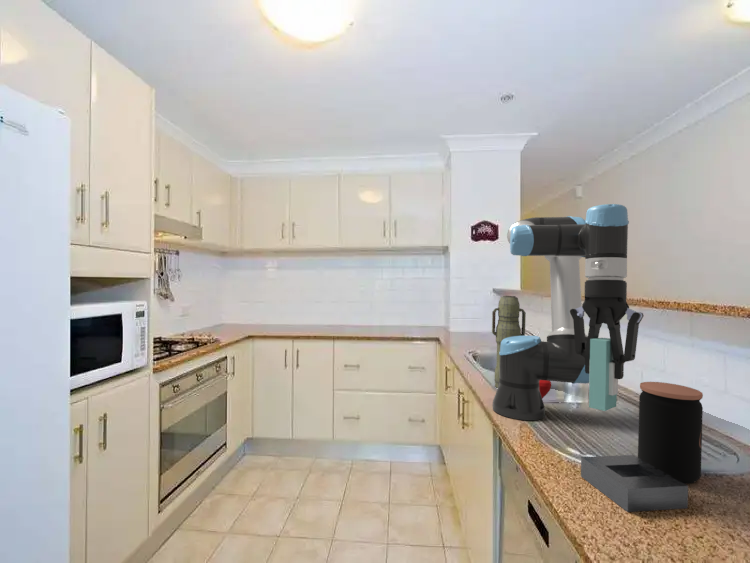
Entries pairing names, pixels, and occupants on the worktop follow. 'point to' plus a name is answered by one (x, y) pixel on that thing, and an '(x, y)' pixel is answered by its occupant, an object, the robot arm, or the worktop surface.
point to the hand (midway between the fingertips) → (603, 391)
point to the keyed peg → (600, 374)
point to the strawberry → (544, 387)
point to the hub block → (634, 483)
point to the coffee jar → (671, 429)
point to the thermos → (506, 325)
